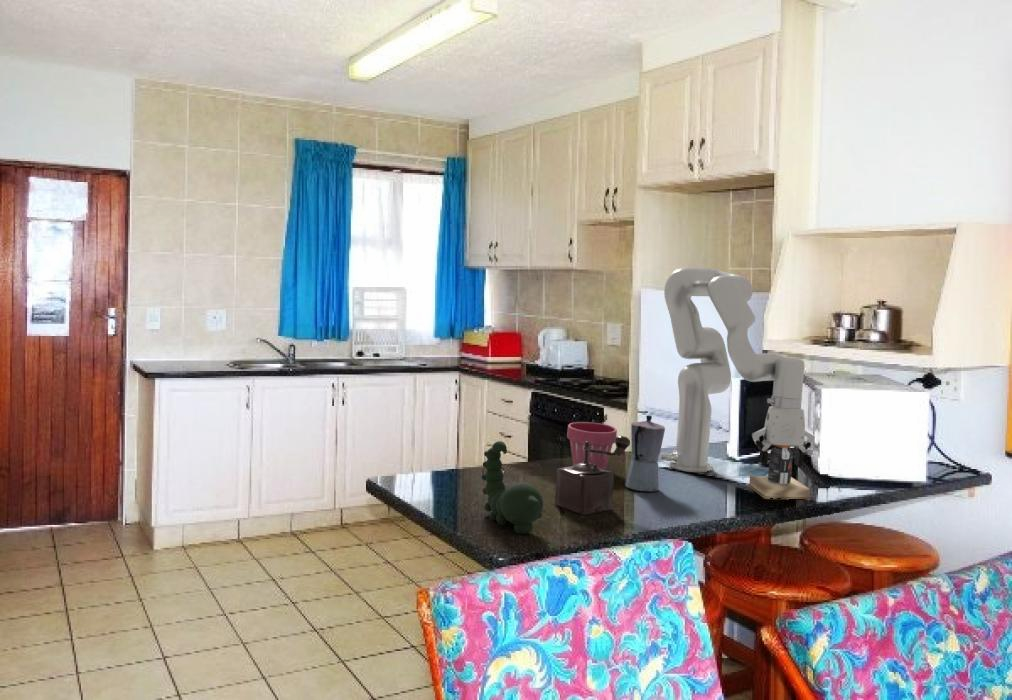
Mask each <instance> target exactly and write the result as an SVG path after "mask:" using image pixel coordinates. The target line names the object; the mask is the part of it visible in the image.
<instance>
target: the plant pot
mask: <svg viewBox="0 0 1012 700" xmlns="http://www.w3.org/2000/svg"><path fill="white" fill-rule="evenodd" d="M566 432H567V433H566V437H567V439H568V440H569V443H570V451H571V458H572V466H574V465H576V464H578V463H581V462H584V458H585V450H584V447H585V445H584V443H585V442H586V441H587V442H589V443H590V445H589V448H590V449H592V450H593V449H594V450H603V451H607V452H612V449H613V445H614V444H615V442H614V441H615V438H616V437H617V436H618V430H617V428H616V427H615V426H613V425H610V424H605V423H600V422H589V421H576V422H571V423H569V424H567V431H566ZM609 459H610V455H605V454H600V453H591V452H590V451H589V452H588V461H589V463H594V464H595V465H597V467H598V468H601V469H604V470H607V469H606V468H607V465H608V461H609Z"/></svg>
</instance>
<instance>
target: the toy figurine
mask: <svg viewBox="0 0 1012 700" xmlns="http://www.w3.org/2000/svg"><path fill="white" fill-rule="evenodd" d="M501 452H502V453H503V454H504V455H506V454H507V453H508V447H507V445H506V443H505V442H504V441H502V440H498V441H495V442H494V443H493V444H492V446H491V447H490V448H488V449H487V450H485V451H484V453H483V455H484V457H486V460H485V461H484V462H482V467H483V468H485V469H486V473H483V474H481V479H482V480H483V481H486V484H485V487H483V488H482V493H483V495H487V502H486V503H485V504H484V510H485V511H486V512H489V519H490V520H491V521H496V523H497V524H498V525H501V526H502V525H505V524H506V523H507V522H510V523H511V524H513V525H514V526H513V529H514V531H515V532H516V534H519V535H527V534H529V533H531V532H532V531H533V528H534V525H533V523H535V521H537V520H539V519H541V518H542V517H543V515H542V511H543V507H544V501H543V497H542V495H541V493H540V491H539V489H538V488H536V487H535V486H534V485H533V484H531V483H528V482H521V481H519V482H515V483H513V484H511V485H509V486H508V487H506V485H505V483H504V481H503V480H504V474H503V472H502V469H503V463H502V460H501V456H502V453H501ZM526 533H527V534H526Z"/></svg>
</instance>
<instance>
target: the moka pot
mask: <svg viewBox="0 0 1012 700" xmlns="http://www.w3.org/2000/svg"><path fill="white" fill-rule="evenodd" d="M652 417H653V415H650V414H649V415H646V420H644V421H634V422H631V424H630V426H631V427H630V430H631V433H630V435H631V436H630V437H631V438H630V439H631V440H630V444H631V460H630V463H629V467H628V472H627V475H626V479H625V482H624V483H625V484H624V485H625V487H626V488H627V489H631V490H634V491H638V492H639V491H640V492H657V491H659V488H660V487H659V463H658V462H659V455H660V453H661V450H662V445H663V440H664V436H665V432H666V431H665V430H666V428H665V426H664V425H662V424H658V423H655V422H652V419H653V418H652Z"/></svg>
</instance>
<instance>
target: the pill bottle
mask: <svg viewBox="0 0 1012 700" xmlns="http://www.w3.org/2000/svg"><path fill="white" fill-rule="evenodd" d="M793 458H794V452H793V450H791V446H777V445H774V447H772V448H771V449H770V451H769V462H768V473H767V476H768V480H769V481H770V482H772V483H776V484H789V483H790V481H791V477H792V470H793V469H792V468H793Z"/></svg>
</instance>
